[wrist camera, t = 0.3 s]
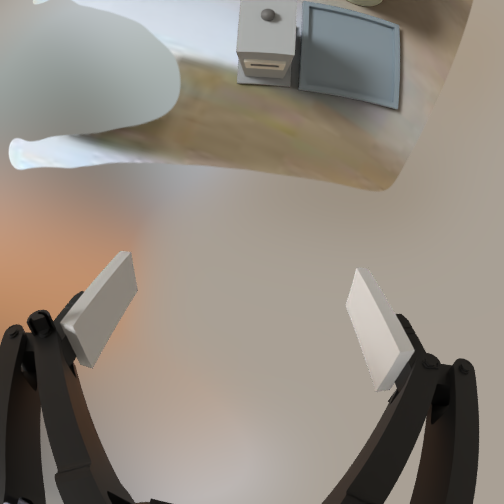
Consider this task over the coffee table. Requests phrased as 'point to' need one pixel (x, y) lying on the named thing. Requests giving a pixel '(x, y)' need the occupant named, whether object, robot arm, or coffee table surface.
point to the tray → (349, 55)
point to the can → (365, 2)
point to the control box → (266, 41)
